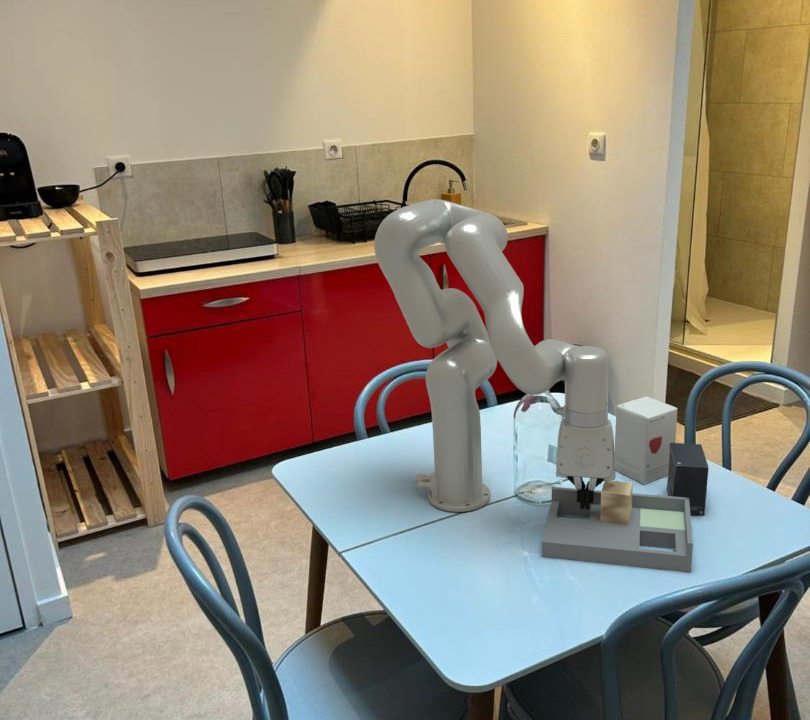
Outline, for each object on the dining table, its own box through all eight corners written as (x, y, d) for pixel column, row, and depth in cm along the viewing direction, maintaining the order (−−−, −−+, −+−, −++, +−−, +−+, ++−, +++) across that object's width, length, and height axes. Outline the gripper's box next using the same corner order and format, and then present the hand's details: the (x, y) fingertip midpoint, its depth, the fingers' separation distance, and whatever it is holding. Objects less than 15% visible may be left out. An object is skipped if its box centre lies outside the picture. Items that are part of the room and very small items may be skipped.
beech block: (600, 521, 150) (601, 492, 148) (604, 508, 154) (605, 479, 152) (628, 525, 148) (629, 495, 146) (631, 511, 152) (632, 483, 151)
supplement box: (644, 485, 168) (646, 418, 163) (612, 469, 175) (614, 404, 171) (675, 473, 172) (679, 407, 167) (643, 458, 180) (646, 394, 175)
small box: (706, 516, 155) (710, 466, 152) (670, 515, 157) (673, 465, 153) (699, 490, 165) (702, 442, 162) (665, 488, 166) (668, 441, 163)
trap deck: (541, 556, 145) (541, 529, 144) (551, 512, 160) (552, 486, 158) (690, 572, 139) (692, 543, 137) (687, 524, 153) (689, 497, 151)
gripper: (541, 420, 146) (542, 512, 152) (628, 425, 142) (626, 519, 148) (546, 405, 153) (547, 493, 159) (630, 409, 149) (627, 499, 154)
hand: (585, 505), depth 153 cm, fingers closed
